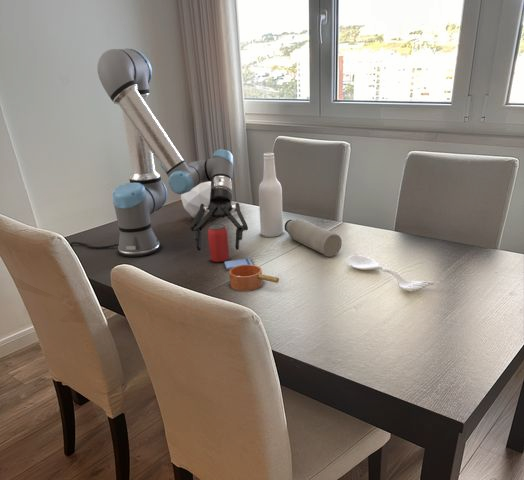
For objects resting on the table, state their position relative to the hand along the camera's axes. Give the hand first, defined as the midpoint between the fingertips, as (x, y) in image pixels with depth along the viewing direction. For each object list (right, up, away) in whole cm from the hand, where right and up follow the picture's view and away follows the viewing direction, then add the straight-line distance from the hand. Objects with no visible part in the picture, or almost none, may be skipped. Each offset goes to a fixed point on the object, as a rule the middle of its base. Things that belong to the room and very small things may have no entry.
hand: (217, 248), depth 167 cm
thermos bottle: (+39, +1, -1) cm, 39 cm away
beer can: (0, -3, +5) cm, 6 cm away
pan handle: (+17, -14, -20) cm, 30 cm away
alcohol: (+19, +11, +26) cm, 34 cm away
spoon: (+53, -13, -16) cm, 57 cm away
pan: (+10, -14, -15) cm, 23 cm away
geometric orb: (-10, +24, +50) cm, 56 cm away
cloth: (+7, -6, -1) cm, 9 cm away
